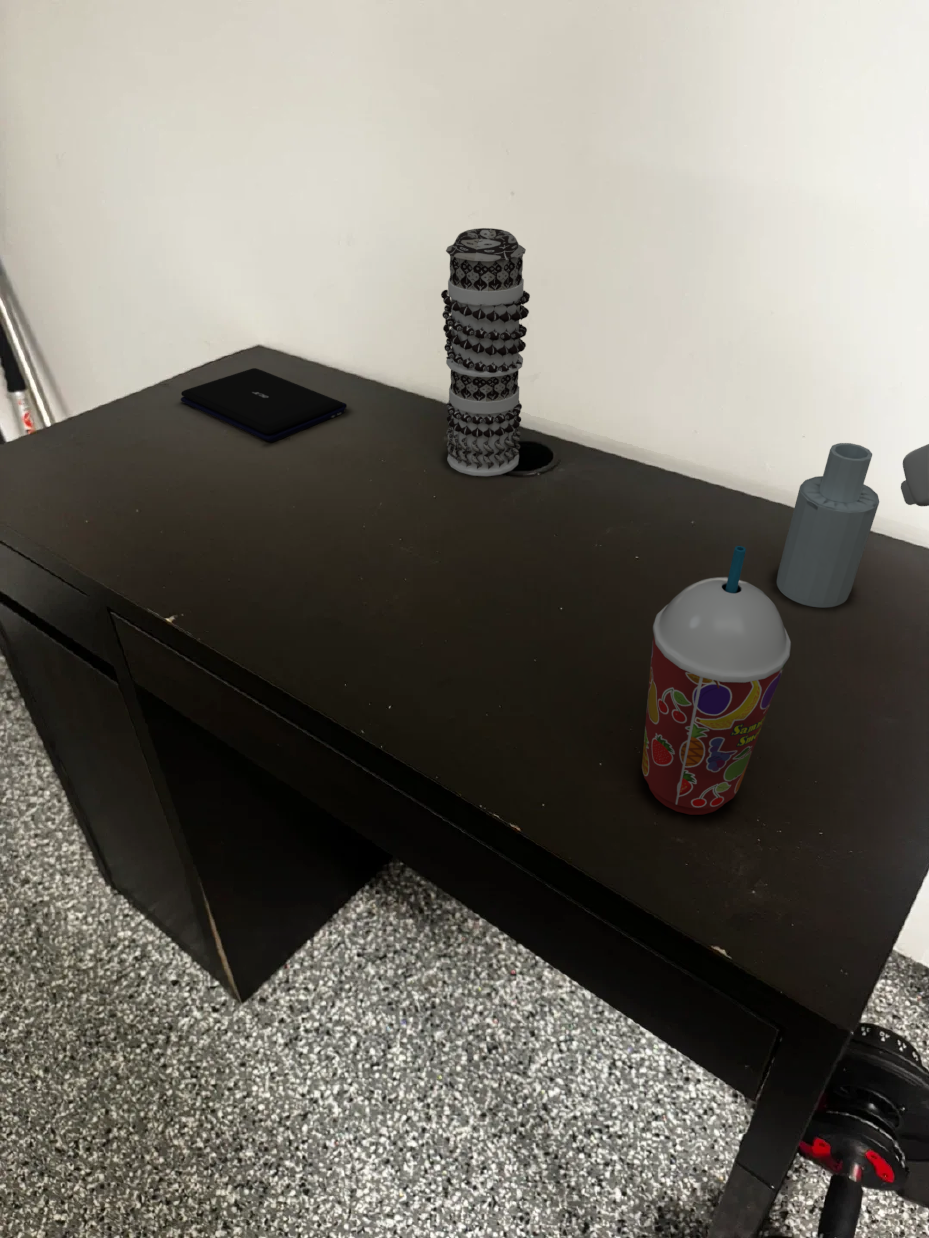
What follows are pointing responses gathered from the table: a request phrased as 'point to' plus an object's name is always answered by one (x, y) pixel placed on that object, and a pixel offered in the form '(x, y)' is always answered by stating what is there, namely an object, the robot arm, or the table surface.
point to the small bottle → (829, 530)
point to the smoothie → (710, 689)
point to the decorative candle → (484, 350)
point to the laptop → (263, 404)
